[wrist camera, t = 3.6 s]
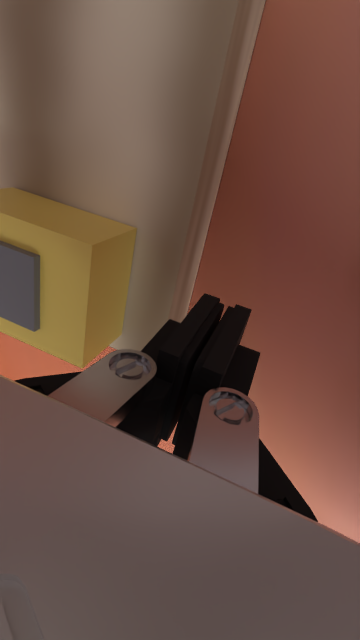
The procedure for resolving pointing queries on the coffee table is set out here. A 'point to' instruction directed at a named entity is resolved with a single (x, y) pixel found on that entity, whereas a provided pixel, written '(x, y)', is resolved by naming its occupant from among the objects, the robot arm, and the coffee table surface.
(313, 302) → the coffee table surface
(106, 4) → the board
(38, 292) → the block
